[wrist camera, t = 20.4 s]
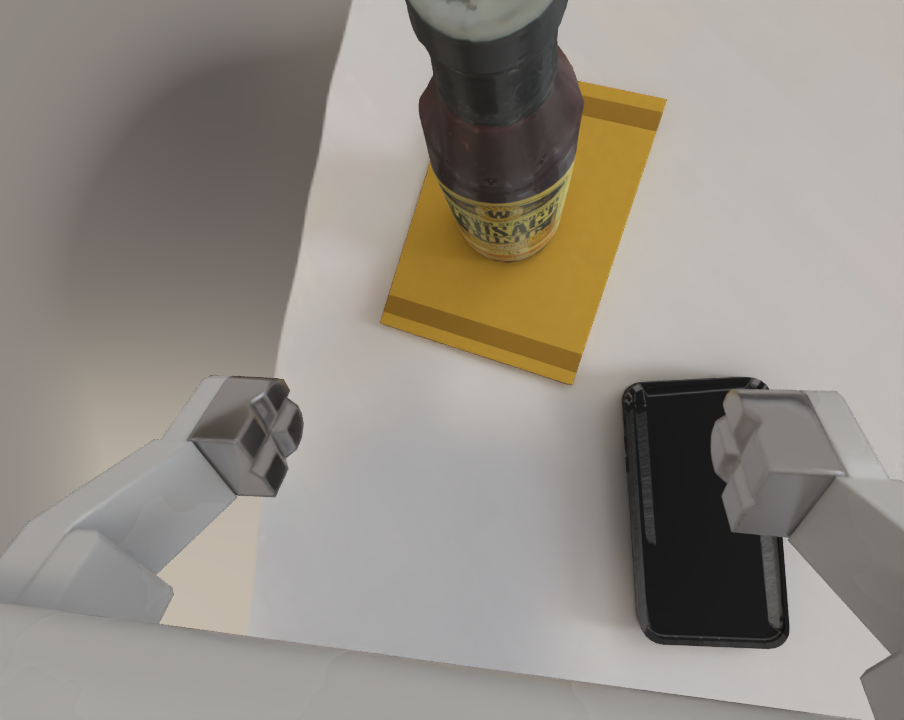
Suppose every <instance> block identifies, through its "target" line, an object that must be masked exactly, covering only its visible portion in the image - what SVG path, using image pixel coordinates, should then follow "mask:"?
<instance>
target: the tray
mask: <svg viewBox="0 0 904 720" xmlns="http://www.w3.org/2000/svg"><path fill="white" fill-rule="evenodd" d="M578 85H579V88H580V91H581V94H582V97H583V100H584V107H583V113H582V118H581V124H580V130H579V136H578V143H577V151H576V157H575V162H574V167H573V171H572V175H571V180H570V184H569V188H568V192H567V196H566V199H565V203H564V207H563V211H562V215H561V219H560V223H559V226H558V228H557V230H556V232H555V234H554V236H553V237H552V239H551V240H550V241H549V242H548V243H547V244H546V245H545V247H544V248H543V249H542V250H541V251H540V252H538V253H537V254H534V255H532V256H530V257H528V258H526V259H522V260H519V261H516V262H511V263H505V262H499V261H494V260H492V259H490V258H488V257H485V256H483V255H482V254H480V253H478V252H477V251H476V250H475V249H473V248H472V247H471V246H470V245H469V244H468V243H467V241H466V240H465V238H464V237H463V235H462V233H461V231H460V229H459V227H458V225H457V223H456V221H455V218H454V216H453V214H452V211H451V209H450V207H449V205H448V203H447V201H446V199H445V196H444V194H443V192H442V190H441V188H440V185H439V183H438V181H437V179H436V176H435V174H434V172H433V169H432V167H431V162H430V164H429V168H428V171H427V174H426V177H425V180H424V184H423V187H422V190H421V193H420V196H419V200H418V203H417V206H416V209H415V212H414V216H413V219H412V222H411V225H410V228H409V232H408V235H407V238H406V241H405V244H404V248H403V251H402V254H401V257H400V260H399V264H398V267H397V270H396V273H395V276H394V280H393V283H392V286H391V289H390V292H389V295H388V299H387V302H386V305H385V308H384V312H383V315H382V318H381V321H380V323H381V324H384V325H387V326H390V327H393V328H396V329H400V330H403V331H406V332H409V333H412V334H415V335H418V336H421V337H424V338H427V339H430V340H433V341H437V342H440V343H443V344H446V345H449V346H452V347H455V348H458V349H461V350H464V351H467V352H471V353H474V354H477V355H480V356H483V357H486V358H489V359H492V360H495V361H498V362H501V363H504V364H508V365H511V366H514V367H517V368H520V369H523V370H526V371H529V372H532V373H535V374H538V375H541V376H545V377H548V378H551V379H554V380H557V381H560V382H563V383H566V384H569V385H572V384H573V381H574V378H575V375H576V372H577V369H578V366H579V363H580V360H581V357H582V354H583V351H584V348H585V345H586V342H587V339H588V336H589V333H590V330H591V327H592V324H593V321H594V318H595V315H596V312H597V309H598V306H599V303H600V300H601V297H602V294H603V291H604V288H605V285H606V282H607V279H608V276H609V273H610V270H611V267H612V264H613V261H614V258H615V255H616V252H617V249H618V246H619V243H620V240H621V237H622V234H623V231H624V228H625V225H626V222H627V219H628V215H629V212H630V209H631V206H632V203H633V200H634V197H635V194H636V191H637V188H638V185H639V182H640V179H641V176H642V173H643V170H644V167H645V164H646V161H647V158H648V155H649V152H650V149H651V146H652V143H653V140H654V137H655V134H656V131H657V128H658V125H659V122H660V119H661V116H662V113H663V110H664V107H665V104H666V101H667V99H663V98H658V97H653V96H648V95H643V94H639V93H634V92H629V91H624V90H619V89H614V88H610V87H605V86H600V85H595V84H590V83H586V82H581V81H578Z"/></svg>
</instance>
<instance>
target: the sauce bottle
mask: <svg viewBox="0 0 904 720" xmlns="http://www.w3.org/2000/svg"><path fill="white" fill-rule="evenodd" d="M405 1H406V4H407V9H408V13H409V18H410V21H411V25H412V27H413V30H414V32H415V34H416V36H417V38H418V40H419V41H420V42H421V43H422V44H423V45H424V46H425V48H426V49H427V51H428V52H429V55H430V57H431V63H432V69H433V76H432V78H431V80H430V82H429V84H428V86H427V88H426V89H425V91H424V92H423V94H422V95H421V97H420V99H419V115H420V120H421V124H422V128H423V132H424V136H425V140H426V144H427V149H428V153H429V157H430V162H431V167H432V169H433V172H434V174H435V176H436V179H437V181H438V183H439V185H440V188H441V190H442V192H443V194H444V196H445V199H446V201H447V203H448V205H449V207H450V209H451V211H452V214H453V216H454V218H455V221H456V223H457V225H458V227H459V229H460V231H461V233H462V235H463V237H464V238H465V240H466V241H467V243H468V244H469V245H470V246H471V247H472V248H473V249H475V250H476V251H477V252H478V253H480V254H482V255H483V256H485V257H488V258H490V259H492V260H494V261H499V262H505V263H511V262H516V261H519V260H522V259H526V258H528V257H530V256H532V255H534V254H537V253H538V252H540V251H541V250H542V249H543V248H544V247H545V245H546V244H547V243H548V242H549V241H550V240H551V239H552V237H553V236H554V234H555V232H556V230H557V228H558V226H559V223H560V219H561V215H562V211H563V207H564V203H565V199H566V196H567V192H568V188H569V184H570V180H571V175H572V171H573V167H574V162H575V157H576V151H577V143H578V136H579V130H580V124H581V118H582V113H583V107H584V100H583V97H582V94H581V91H580V88H579V85H578V81H577V78H576V75H575V73H574V71H573V67H572V65H571V64H570V62H569V61H568V59H567V57H566V56H565V54H564V53H563V52H562V50H561V49H560V47H559V46H558V44H557V34H558V27H559V25H560V23H561V20H562V17H563V15H564V12H565V9H566V6H567V2H568V0H405Z"/></svg>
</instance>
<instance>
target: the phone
mask: <svg viewBox="0 0 904 720" xmlns="http://www.w3.org/2000/svg"><path fill="white" fill-rule="evenodd" d="M732 389H759V390H769V388H768V387H767V385H766V384H765V383H763V382H762V381H761V380H758V379H756V378H750V377H729V378H710V379H691V380H672V381H652V382H639V383H635V384H633V385H631V386H629V388H628V389H627V390H626V391H625V393H624V395H623V401H622V404H623V421H624V434H625V436H624V440H625V452H626V457H625V459H626V471H627V477H628V492H629V507H630V521H631V536H632V550H633V565H634V580H635V594H636V609H637V617H638V621H639V623H640V626H641V629H642V631H643V632H644V634H645V636H646V637H648V638H649V639H650V640H651V641H653V642H655V643H658V644H663V645H687V646H711V647H735V648H759V649H771V648H776V647H779V646H781V645H782V644H783V643H784V642H785V641H786V640H787V638H788V636H789V615H788V602H787V589H786V576H785V563H784V550H783V537H777V536H767V535H757V534H747V533H737V532H731V528H730V525H729V521H728V518H727V514H726V511H725V507H724V503H723V500H722V494H723V491H724V489H725V487H726V485H727V483H726V482H725V481H723V480H722V479H721V478H720V477H719V476H718V475H717V474H716V473H715V470H714V466H713V462H712V456H711V448H710V447H711V434H712V430H713V428H714V425H715V422H716V420H718V419H719V418H721V417H723V416H724V415H726V413H725V410H724V407H723V402H724V399H725V397H726V395H727V393H728V392H729V391H730V390H732Z"/></svg>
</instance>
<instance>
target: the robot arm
mask: <svg viewBox="0 0 904 720" xmlns="http://www.w3.org/2000/svg"><path fill="white" fill-rule="evenodd" d="M289 392H290V390H289V388H288V386H287V384H286V383H285V381H284V379H278V378H263V377H244V376H243V377H242V376H217V375H216V376H215V375H210V376H209V377H207V378H205V379H203V380H202V381H201V383H200V384H199V386H198V387H197V388H196V390H195V391H194V393H193V394H192V396H191V397H190V398H189V400H188V401H187V403H186V404H185V405H184V407H183V408H182V410H181V411H180V413H179V414H178V416H177V417H176V418H175V420H174V421H173V423H172V424H171V425H170V427H169V428H168V430H167V431H166V433H165V434H164V435H163V437H162V438H161V440H152V441H151V442H149V443H147V444H146V445H144V446H143V447H141V448H140V449H138V450H137V451H135V452H134V453H132V454H131V455H129V456H127V457H126V458H124V459H123V460H121V461H120V462H118V463H117V464H115V465H114V466H112V467H111V468H109V469H107V470H106V471H104V472H103V473H102V474H100V475H98V476H97V477H95V478H94V479H92V480H91V481H89V482H87V483H86V484H84V485H83V486H81V487H80V488H78V489H77V490H75V491H74V492H72V493H71V494H69V495H68V496H66V497H64V498H63V499H62V500H60V501H58V502H57V503H56V504H54V505H52V506H51V507H49V508H48V509H46V510H45V511H43V512H42V513H40V514H39V515H37V516H35V517H34V518H32V519H31V520H29V521H28V522H27V523H26V524H25V526H24V527H23V528H22V529H21V531H20V532H19V533H18V534H17V535H16V537H15V538H14V539H13V540H12V542H11V543H10V544H9V545H8V547H7V548H6V549H5V550H4V551H3V553H2V554H1V555H0V720H859V719H852V718H845V717H837V716H830V715H823V714H815V713H808V712H801V711H793V710H786V709H779V708H771V707H764V706H757V705H749V704H742V703H735V702H727V701H720V700H713V699H705V698H698V697H691V696H683V695H676V694H669V693H661V692H654V691H647V690H639V689H632V688H625V687H617V686H610V685H603V684H595V683H588V682H581V681H573V680H566V679H559V678H551V677H544V676H537V675H529V674H522V673H515V672H507V671H500V670H493V669H485V668H478V667H471V666H463V665H456V664H449V663H441V662H434V661H427V660H419V659H412V658H405V657H397V656H390V655H383V654H375V653H368V652H361V651H353V650H346V649H339V648H331V647H324V646H317V645H309V644H302V643H295V642H287V641H280V640H273V639H265V638H258V637H251V636H243V635H236V634H229V633H222V632H214V631H207V630H200V629H192V628H185V627H178V626H169V625H163V624H159V622H160V621H161V619H162V617H163V615H164V613H165V611H166V609H167V607H168V604H169V603H170V601H171V599H172V597H173V595H174V593H173V589H172V587H171V586H170V585H168V584H167V583H166V582H165V581H163V580H162V579H161V578H159V577H158V576H157V575H156V574H158V572H160V571H161V570H162V569H163V568H164V567H165V566H166V565H167V564H168V563H169V562H170V561H171V560H172V559H173V558H174V557H175V556H176V555H177V554H179V553H180V552H181V551H182V549H184V548H185V547H186V546H187V545H188V544H189V543H190V542H191V541H192V540H193V539H194V538H195V537H196V536H197V535H198V534H199V533H200V532H201V531H202V530H204V529H205V528H206V527H207V526H208V525H209V524H210V523H211V522H212V521H213V520H214V519H215V518H216V517H217V516H218V515H219V514H220V513H221V512H223V511H224V510H225V509H226V508H227V507H228V505H230V504H231V503H232V502H233V501H234V500H235V499H236V498H237V496H236V495H239V496H260V497H276V495H277V493H278V490H279V488H280V486H281V484H282V482H283V479H284V477H285V475H286V473H287V471H288V465H287V461H286V458H287V457H288V456H289V455H291V454H292V453H293V452H295V451H296V450H297V448H298V446H299V443H300V441H301V439H302V433H303V425H304V423H303V417H302V413H301V411H300V409H299V407H298V405H297V404H295V403H294V402H292V401H291V400H290V399H288V398H287V396H288V394H289ZM723 407H724V410H725V413H726V415H724V416H723V417H721V418H719V419H718V420H716V422H715V425H714V428H713V430H712V434H711V447H710V448H711V456H712V462H713V466H714V470H715V473H716V474H717V475H718V476H719V477H720V478H721V479H722V480H723V481H725V482H726V483H727V485H726V487H725V489H724V491H723V494H722V500H723V503H724V507H725V511H726V514H727V518H728V521H729V525H730V528H731V532H737V533H747V534H757V535H767V536H777V537H787V538H789V539H788V541H789V542H790V543H791V544H792V545H793V547H794V548H795V549H796V550H797V551H798V552H799V553H800V554H801V555H802V556H803V558H804V559H805V560H806V561H807V562H808V563H809V564H810V565H811V566H812V568H813V569H814V570H815V571H816V572H817V573H818V574H819V575H820V576H821V577H822V579H823V580H824V581H825V582H826V583H827V584H828V585H829V586H830V587H831V588H832V590H833V591H834V592H835V593H836V594H837V595H838V596H839V597H840V598H841V600H842V601H843V602H844V603H845V604H846V605H847V606H848V607H849V608H850V609H851V611H852V612H853V613H854V614H855V615H856V616H857V617H858V618H859V619H860V620H861V622H862V623H863V624H864V625H865V626H866V627H867V628H868V629H869V630H870V632H871V633H872V634H873V635H874V636H875V637H876V638H877V639H878V640H879V641H880V643H881V644H882V645H883V646H884V647H885V648H886V649H887V650H888V651H889V652H890V654H891V655H890V656H889V657H887V658H886V659H884V660H882V661H881V662H879V663H877V664H876V665H874V666H872V667H871V668H869V669H867V670H866V671H865V672H864V674H863V675H862V676H861V677H860V680H861V683H862V685H863V688H864V691H865V693H866V696H867V699H868V701H869V704H870V707H871V710H872V712H873V715H874V718H875V720H904V481H902V480H893V479H890V478H889V476H888V475H887V473H886V471H885V469H884V468H883V466H882V464H881V462H880V461H879V459H878V457H877V455H876V454H875V452H874V450H873V448H872V447H871V445H870V443H869V441H868V440H867V438H866V436H865V434H864V432H863V431H862V429H861V427H860V425H859V424H858V422H857V420H856V418H855V417H854V415H853V413H852V411H851V410H850V408H849V406H848V404H847V403H846V401H845V399H844V397H843V396H842V395H841V394H839V393H838V392H837V391H805V390H800V391H797V390H759V389H732V390H730V391H729V392H728V393H727V395H726V397H725V399H724V402H723Z"/></svg>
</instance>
